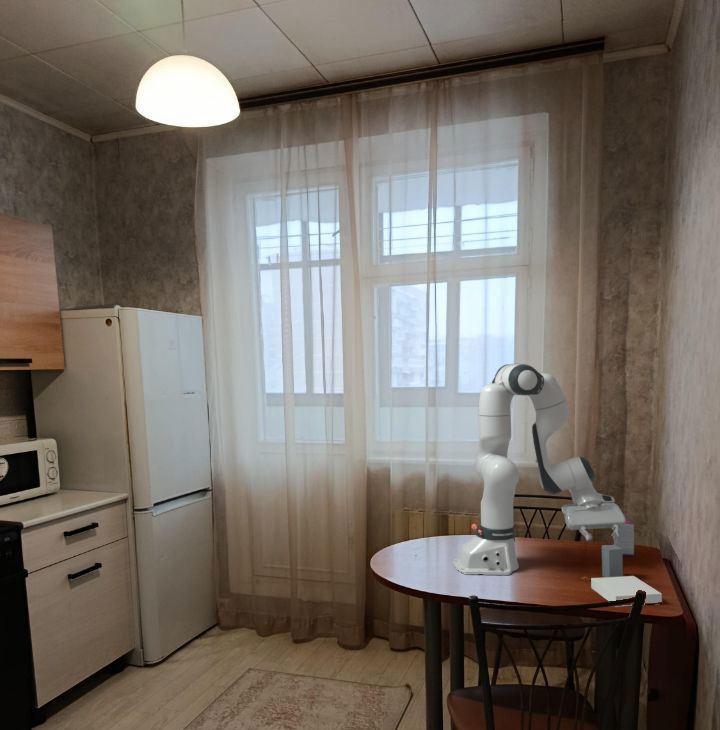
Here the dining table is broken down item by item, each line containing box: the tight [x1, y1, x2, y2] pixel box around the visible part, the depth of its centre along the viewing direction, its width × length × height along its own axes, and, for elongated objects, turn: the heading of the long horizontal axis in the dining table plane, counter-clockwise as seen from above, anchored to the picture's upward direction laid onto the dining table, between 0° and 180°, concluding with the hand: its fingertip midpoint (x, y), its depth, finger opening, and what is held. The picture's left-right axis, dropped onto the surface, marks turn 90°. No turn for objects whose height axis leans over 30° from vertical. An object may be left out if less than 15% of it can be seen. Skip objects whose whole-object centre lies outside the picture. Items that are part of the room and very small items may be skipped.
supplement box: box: [613, 520, 635, 557], centre depth 205 cm, size 6×6×12 cm
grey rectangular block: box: [601, 544, 624, 578], centre depth 182 cm, size 4×4×10 cm
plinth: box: [590, 575, 663, 608], centre depth 167 cm, size 14×14×3 cm
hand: (603, 538), depth 187 cm, fingers open, 8 cm apart
